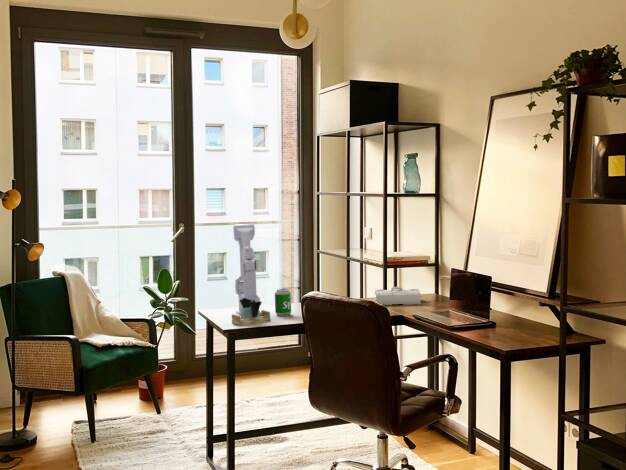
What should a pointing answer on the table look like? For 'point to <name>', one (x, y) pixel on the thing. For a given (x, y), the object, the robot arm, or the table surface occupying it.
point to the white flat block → (398, 296)
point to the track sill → (262, 318)
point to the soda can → (283, 302)
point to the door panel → (247, 313)
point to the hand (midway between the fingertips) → (250, 315)
